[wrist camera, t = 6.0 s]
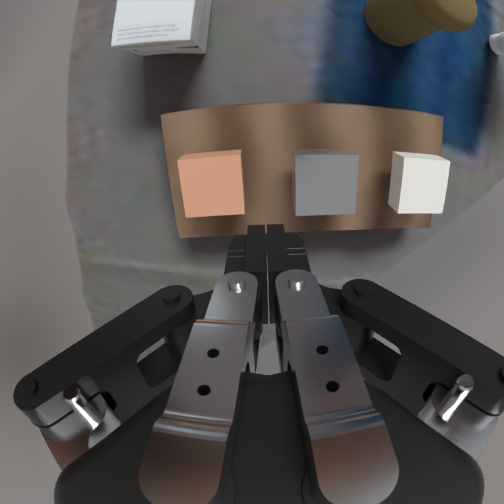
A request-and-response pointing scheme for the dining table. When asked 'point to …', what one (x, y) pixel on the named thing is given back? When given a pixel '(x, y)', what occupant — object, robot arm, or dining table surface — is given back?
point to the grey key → (324, 181)
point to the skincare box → (161, 26)
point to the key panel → (280, 159)
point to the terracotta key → (212, 183)
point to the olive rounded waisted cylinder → (417, 18)
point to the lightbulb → (497, 43)
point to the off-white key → (418, 182)
